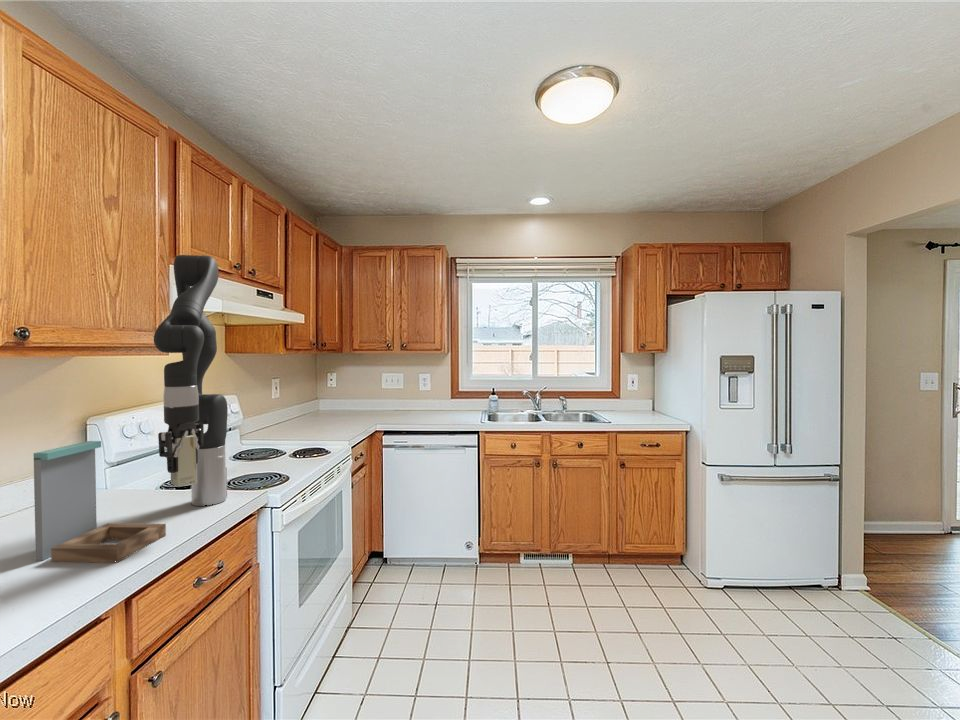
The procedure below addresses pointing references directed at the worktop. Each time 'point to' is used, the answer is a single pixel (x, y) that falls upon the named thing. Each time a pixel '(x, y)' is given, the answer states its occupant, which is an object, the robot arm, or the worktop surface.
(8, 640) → the worktop surface
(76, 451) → the board
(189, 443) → the skincare box
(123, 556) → the socket block
